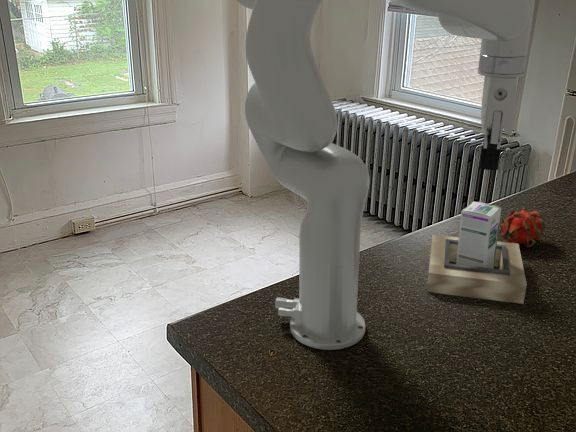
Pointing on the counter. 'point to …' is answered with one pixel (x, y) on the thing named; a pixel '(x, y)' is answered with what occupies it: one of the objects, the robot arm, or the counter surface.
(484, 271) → the socket block
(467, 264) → the syrup box
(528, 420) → the counter surface
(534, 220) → the dragon fruit
